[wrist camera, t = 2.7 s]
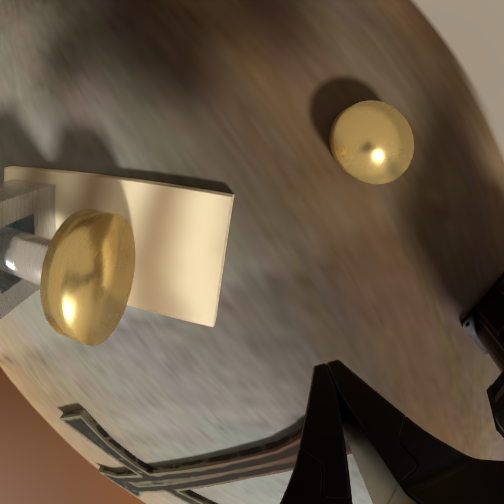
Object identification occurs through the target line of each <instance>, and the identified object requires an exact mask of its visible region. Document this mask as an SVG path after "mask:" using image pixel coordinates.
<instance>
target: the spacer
mask: <svg viewBox="0 0 504 504" xmlns="http://www.w3.org/2000/svg"><path fill="white" fill-rule="evenodd" d="M329 145H330V150H331V153H332V155H333V158H334V159H335V161H336V163H337V164H338V165H339V166H340V167H341V168H342V169H343V170H344V171H345V172H347V173H348V174H350V175H352V176H353V177H355V178H357V179H359V180H361V181H363V182H366V183H370V184H384V183H388V182H391V181H393V180H395V179H396V178H398V177H399V176H401V175H402V174H403V173H404V172H405V170H406V169H407V168H408V166H409V164H410V162H411V160H412V157H413V152H414V138H413V134H412V130H411V128H410V125H409V124H408V122H407V120H406V119H405V117H404V116H403V115H402V114H401V113H400V112H399V111H398V110H397V109H395V108H394V107H392V106H391V105H389V104H387V103H384V102H380V101H373V100H369V101H362V102H359V103H356V104H354V105H352V106H350V107H349V108H347V109H345V110H343V111H342V112H341V113H340V114H339V115H338V116H337V117H336V118H335V120H334V122H333V124H332V126H331V129H330V133H329Z"/></svg>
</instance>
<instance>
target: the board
mask: <svg viewBox="0 0 504 504" xmlns="http://www.w3.org/2000/svg"><path fill="white" fill-rule="evenodd" d="M11 179H16V180H25V181H33V182H41V183H49V184H55V218H56V231H57V230H58V228H59V227H60V226H61V224H62V223H63V222H64V221H65V220H66V219H67V218H68V217H69V216H70V215H72V214H73V213H75V212H77V211H79V210H82V209H93V210H99V211H104V212H110V213H115V214H120V215H122V216H123V217H125V218H126V219H127V221H128V222H129V224H130V226H131V228H132V231H133V235H134V240H135V271H134V278H133V283H132V288H131V292H130V295H129V299H128V302H127V305H130V306H133V307H137V308H140V309H144V310H147V311H151V312H155V313H158V314H162V315H166V316H170V317H174V318H178V319H182V320H186V321H190V322H194V323H198V324H202V325H206V326H211V327H213V326H214V324H215V321H216V316H217V308H218V301H219V294H220V287H221V280H222V272H223V266H224V259H225V252H226V245H227V238H228V232H229V225H230V219H231V212H232V206H233V200H234V194H229V193H223V192H218V191H212V190H206V189H200V188H194V187H188V186H181V185H175V184H168V183H162V182H155V181H148V180H141V179H133V178H126V177H118V176H110V175H102V174H93V173H84V172H75V171H65V170H55V169H44V168H32V167H19V166H9V167H5V168H4V181H8V180H11Z"/></svg>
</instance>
